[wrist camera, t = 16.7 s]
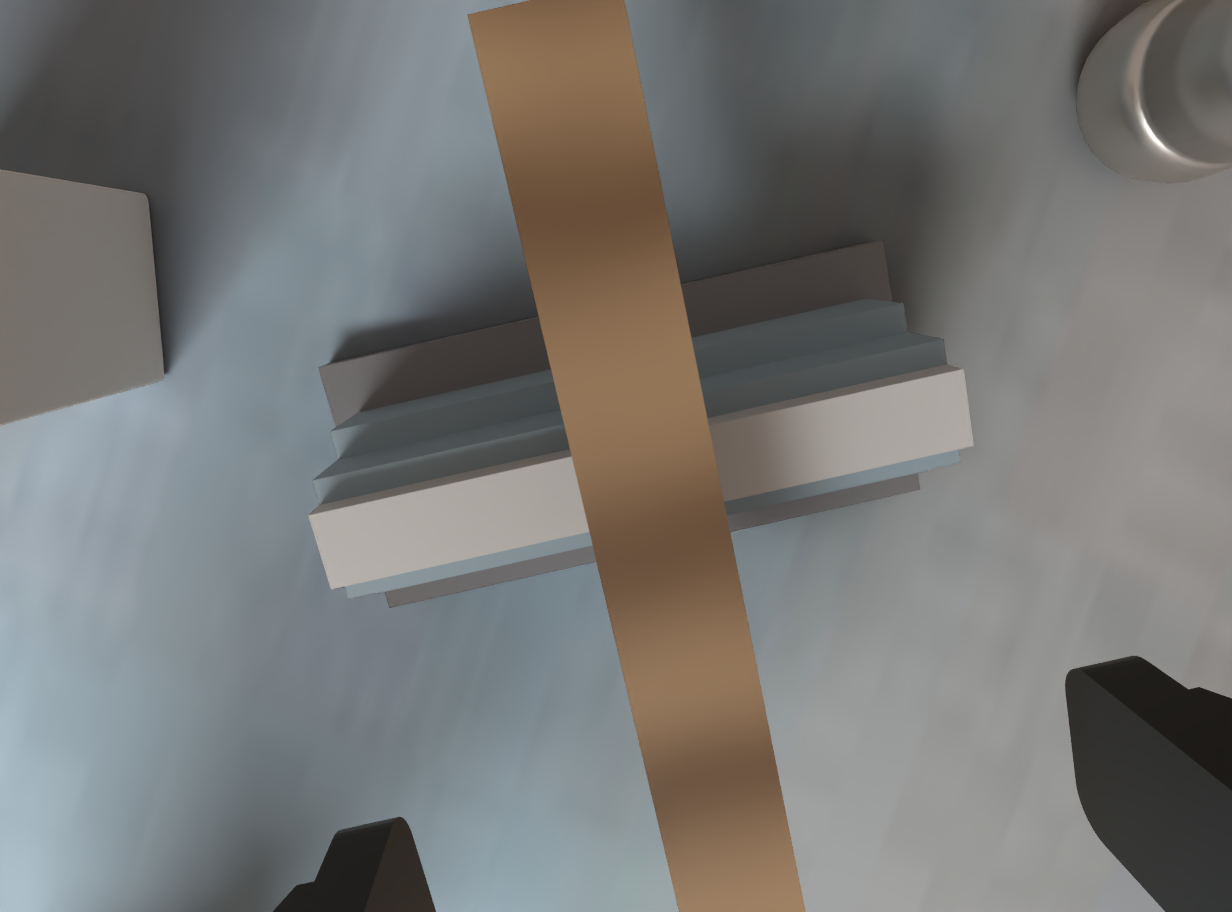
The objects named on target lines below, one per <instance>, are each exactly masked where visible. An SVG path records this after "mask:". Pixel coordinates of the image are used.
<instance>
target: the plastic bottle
mask: <svg viewBox="0 0 1232 912" xmlns="http://www.w3.org/2000/svg"><path fill="white" fill-rule="evenodd" d="M1076 110H1077V115H1078V121H1079V126H1080V129H1081V131H1082V134H1083V136H1084V139H1085V141H1086V143H1087V144H1088V146H1089V147H1090V149H1091V150H1092V152H1093V154H1094V155H1095V156H1096V157H1097V158H1098V159H1099V160H1100V161H1101V162H1102V163H1103V164H1104V165H1106V166H1107V167H1109V168H1110V169H1112V170H1114V171H1115V172H1117V173H1119V174H1122V175H1124V176H1127V177H1130V178H1133V179H1140V180H1147V181H1155V182H1164V183H1178V182H1188V181H1192V180H1196V179H1199V178H1203V177H1206V176H1209V175H1212V174H1215V173H1218V172H1221V171H1224V170H1227V169H1229V168H1232V0H1149V1H1147V2H1145V3H1143V4H1141V5H1140V6H1139V7H1137V8H1136V9H1135V10H1133V11H1132V12H1131V13H1130V14H1128V15H1127V16H1126V17H1124V18H1123V19H1122V20H1121V21H1119V22H1118V23H1117V24H1116V25H1115V26H1113V27H1112V28H1111V29H1110V30H1108V31H1107V32H1106V33H1105V35H1104V36H1103V37H1102V38H1101V39H1100V40H1099V41H1098V42H1097V43H1096V45H1095V46H1094V48H1093V50H1092V51H1091V53H1090V54H1089V56H1088V58H1087V59H1086V62H1085V64H1084V67H1083V69H1082V72H1081V74H1080V78H1079V83H1078V88H1077V103H1076Z"/></svg>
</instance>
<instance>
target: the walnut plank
mask: <svg viewBox="0 0 1232 912" xmlns="http://www.w3.org/2000/svg"><path fill="white" fill-rule="evenodd" d="M468 19H469V23H470V28H471V32H472V36H473V40H474V45H475V49H476V53H477V57H478V62H479V66H480V70H481V74H482V79H483V83H484V87H485V91H486V95H487V100H488V104H489V108H490V112H491V117H492V121H493V125H494V129H495V134H496V138H497V142H498V146H499V151H500V155H501V159H502V163H503V168H504V172H505V176H506V180H507V184H508V189H509V193H510V197H511V201H512V206H513V210H514V214H515V218H516V223H517V227H518V231H519V235H520V240H521V244H522V248H523V252H524V256H525V261H526V265H527V269H528V273H529V278H530V282H531V286H532V290H533V295H534V299H535V303H536V307H537V312H538V316H539V320H540V324H541V329H542V333H543V337H544V341H545V345H546V350H547V354H548V358H549V362H550V367H551V371H552V375H553V379H554V384H555V388H556V392H557V396H558V401H559V405H560V409H561V413H562V417H563V422H564V426H565V430H566V434H567V439H568V443H569V447H570V451H571V456H572V460H573V464H574V468H575V473H576V477H577V481H578V485H579V490H580V494H581V498H582V502H583V506H584V511H585V515H586V519H587V523H588V528H589V532H590V536H591V540H592V545H593V549H594V553H595V557H596V562H597V566H598V570H599V574H600V578H601V583H602V587H603V591H604V595H605V600H606V604H607V608H608V612H609V617H610V621H611V625H612V629H613V634H614V638H615V642H616V646H617V651H618V655H619V659H620V663H621V667H622V672H623V676H624V680H625V684H626V689H627V693H628V697H629V701H630V706H631V710H632V714H633V718H634V723H635V727H636V731H637V735H638V740H639V744H640V748H641V752H642V756H643V761H644V765H645V769H646V773H647V778H648V782H649V786H650V790H651V795H652V799H653V803H654V807H655V812H656V816H657V820H658V824H659V828H660V833H661V837H662V841H663V845H664V850H665V854H666V858H667V862H668V867H669V871H670V875H671V879H672V884H673V888H674V892H675V896H676V901H677V905H678V909H679V912H805V907H804V902H803V897H802V892H801V887H800V882H799V877H798V872H797V867H796V862H795V857H794V852H793V847H792V842H791V837H790V832H789V827H788V822H787V817H786V812H785V806H784V801H783V796H782V791H781V786H780V781H779V776H778V771H777V766H776V761H775V756H774V751H773V746H772V741H771V736H770V731H769V726H768V721H767V716H766V711H765V706H764V701H763V696H762V691H761V686H760V681H759V676H758V671H757V666H756V661H755V656H754V651H753V645H752V640H751V635H750V630H749V625H748V620H747V615H746V610H745V605H744V600H743V595H742V590H741V585H740V580H739V575H738V570H737V565H736V560H735V555H734V550H733V545H732V540H731V535H730V530H729V525H728V520H727V515H726V510H725V505H724V500H723V495H722V490H721V485H720V479H719V474H718V469H717V464H716V459H715V454H714V449H713V444H712V439H711V434H710V429H709V424H708V419H707V414H706V409H705V404H704V399H703V394H702V389H701V384H700V379H699V374H698V369H697V364H696V359H695V354H694V349H693V344H692V339H691V334H690V329H689V324H688V318H687V313H686V308H685V303H684V298H683V293H682V288H681V283H680V278H679V273H678V268H677V263H676V258H675V253H674V248H673V243H672V238H671V233H670V228H669V223H668V218H667V213H666V208H665V203H664V198H663V193H662V188H661V183H660V178H659V173H658V168H657V163H656V157H655V152H654V147H653V142H652V137H651V132H650V127H649V122H648V117H647V112H646V107H645V102H644V97H643V92H642V87H641V82H640V77H639V72H638V67H637V62H636V57H635V52H634V47H633V42H632V37H631V32H630V27H629V22H628V17H627V12H626V7H625V2H624V0H530V1H526V2H521V3H517V4H512V5H508V6H503V7H499V8H495V9H490V10H486V11H481V12H477V13H473V14H468Z"/></svg>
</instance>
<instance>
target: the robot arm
mask: <svg viewBox="0 0 1232 912" xmlns="http://www.w3.org/2000/svg"><path fill="white" fill-rule="evenodd" d="M1065 690H1066V700H1067V709H1068V717H1069V726H1070V735H1071V743H1072V752H1073V761H1074V769H1075V778H1076V785H1077V791H1078V795H1079V798H1080V801H1081V804H1082V807H1083V810H1084V812H1085V814H1086V816H1087V819H1088V821H1089V823H1090V824H1091V826H1092V828H1093V830H1094V831H1095V833H1096V834H1097V836H1098V837H1099V839H1100V840H1101V841H1102V842H1103V844H1104V845H1105V846H1106V847H1107V848H1108V849H1109V850H1110V851H1111V852H1112V854H1113V855H1114V856H1115V857H1116V858H1117V859H1118V860H1119V861H1120V862H1121V863H1122V865H1123V866H1124V867H1125V868H1126V869H1127V870H1128V871H1129V872H1130V873H1131V874H1132V876H1133V877H1134V878H1135V879H1136V880H1137V881H1138V882H1139V883H1140V884H1141V885H1142V887H1143V888H1144V889H1145V890H1146V891H1147V892H1148V893H1149V894H1150V895H1151V896H1152V897H1153V899H1154V900H1155V901H1156V902H1157V903H1158V904H1159V905H1160V906H1161V907H1162V908H1163V910H1164V911H1165V912H1232V699H1231V698H1229V697H1226V696H1223V695H1220V694H1217V693H1214V692H1212V691H1209V690H1206V689H1203V688H1200V687H1198V688H1193V689H1189V690H1188V689H1187V688H1185V687H1184V686H1182V685H1181V684H1180V683H1178V682H1177V681H1175V680H1174V679H1172V678H1171V677H1169V676H1168V675H1167V674H1165V673H1164V672H1162V671H1161V670H1159V669H1158V668H1156V667H1155V666H1154V665H1152V664H1151V663H1149V662H1148V661H1146V660H1145V659H1143V658H1141V657H1138V656H1130V657H1125V658H1121V659H1116V660H1112V661H1107V662H1103V663H1098V664H1094V665H1089V666H1085V667H1080V668H1076V669H1072V670H1070V671H1069V672H1068V674H1067V676H1066V682H1065ZM273 912H436V910H435V907H434V904H433V901H432V897H431V894H430V891H429V888H428V884H427V881H426V878H425V875H424V871H423V868H422V865H421V862H420V858H419V855H418V852H417V849H416V845H415V842H414V839H413V836H412V833H411V830H410V828H409V825H408V824H407V822H406V821H405V820H404V818H402V817H397V818H392V819H388V820H383V821H379V822H374V823H370V824H365V825H361V826H356V827H352V828H347V829H343V830H339V831H338V832H337V833H336V834H335V836H334V837H333V839H332V842H331V844H330V846H329V849H328V851H327V853H326V856H325V858H324V860H323V863H322V865H321V868H320V870H319V872H318V875H317V877H316V879H315V881H314V882H310V883H305V884H301V885H296V887H295V888H294V889H293V890H292V891H291V892H290V893H289V894H288V895H287V897H286V898H285V899H284V900H283V901H282V902H281V903H280V904H279V905H278V906H277V908H276V909H275V910H274V911H273Z"/></svg>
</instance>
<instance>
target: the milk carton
mask: <svg viewBox="0 0 1232 912" xmlns="http://www.w3.org/2000/svg"><path fill="white" fill-rule="evenodd" d="M163 378H164V363H163V352H162V341H161V330H160V319H159V308H158V297H157V287H156V276H155V265H154V254H153V243H152V232H151V222H150V211H149V203H148V198H147V196H146V195H145V194H143V193H139V192H133V191H127V190H121V189H115V188H109V187H103V186H97V185H91V184H85V183H79V182H73V181H67V180H61V179H55V178H49V177H43V176H37V175H31V174H25V173H19V172H13V171H7V170H1V169H0V426H2V425H5V424H9V423H12V422H16V421H20V420H23V419H27V418H30V417H34V416H38V415H41V414H45V413H48V412H52V411H56V410H59V409H63V408H66V407H70V406H74V405H77V404H81V403H85V402H88V401H92V400H95V399H99V398H103V397H106V396H110V395H113V394H117V393H121V392H124V391H128V390H131V389H135V388H139V387H142V386H146V385H149V384H153V383H157V382H160V381H162V380H163Z"/></svg>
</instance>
